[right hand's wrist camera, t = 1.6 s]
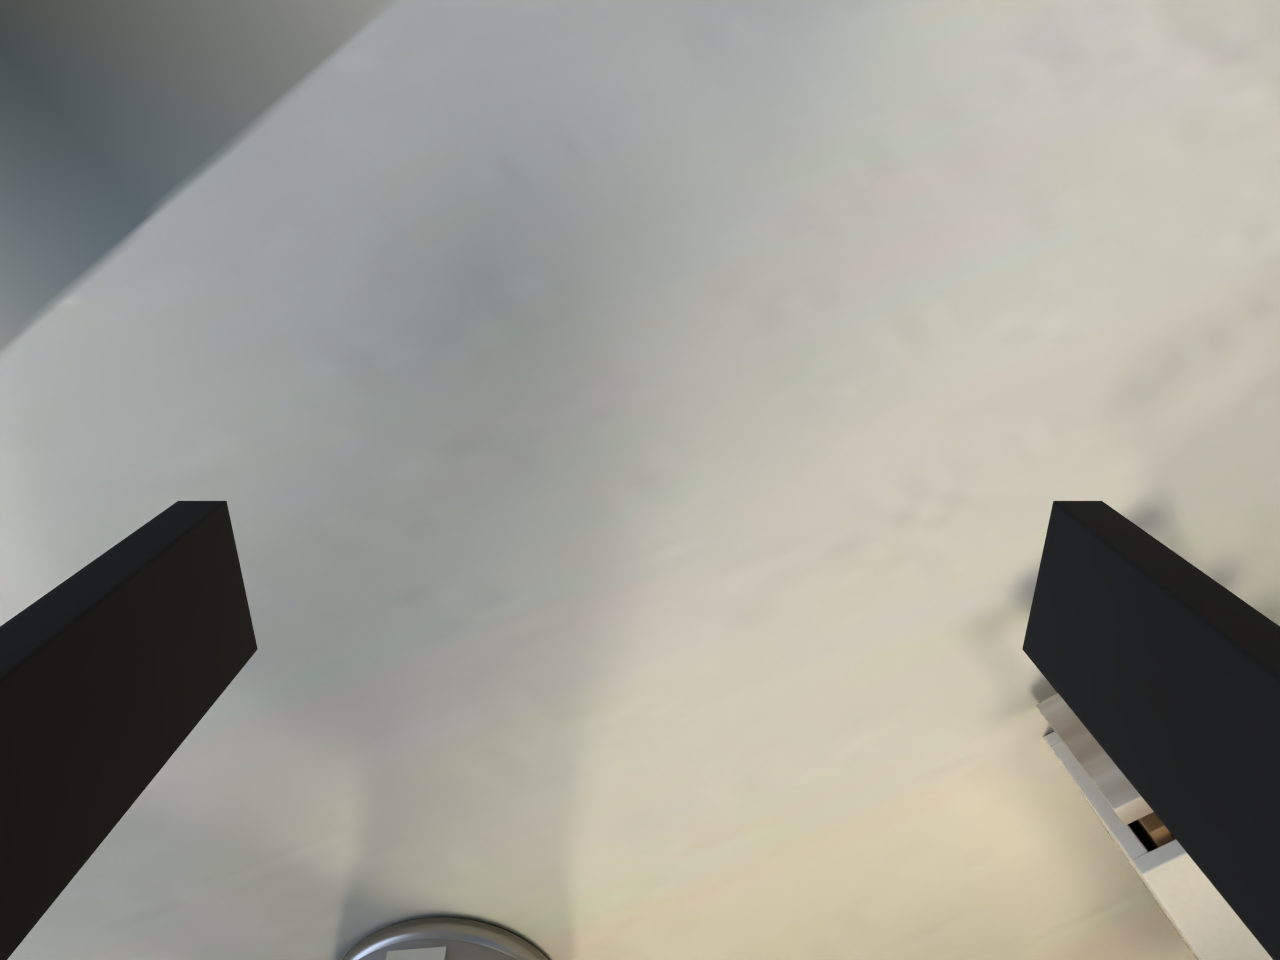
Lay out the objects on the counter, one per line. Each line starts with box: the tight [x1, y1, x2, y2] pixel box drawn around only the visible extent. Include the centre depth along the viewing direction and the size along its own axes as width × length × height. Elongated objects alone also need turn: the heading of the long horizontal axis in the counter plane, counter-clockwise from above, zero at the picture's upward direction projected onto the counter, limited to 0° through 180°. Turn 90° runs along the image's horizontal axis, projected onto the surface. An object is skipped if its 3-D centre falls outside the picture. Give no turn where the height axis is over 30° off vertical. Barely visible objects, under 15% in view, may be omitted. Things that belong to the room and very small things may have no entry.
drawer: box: [1036, 693, 1176, 851], centre depth 39 cm, size 23×10×7 cm, turn 37°
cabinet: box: [1044, 731, 1273, 960], centre depth 41 cm, size 18×11×9 cm, turn 37°
